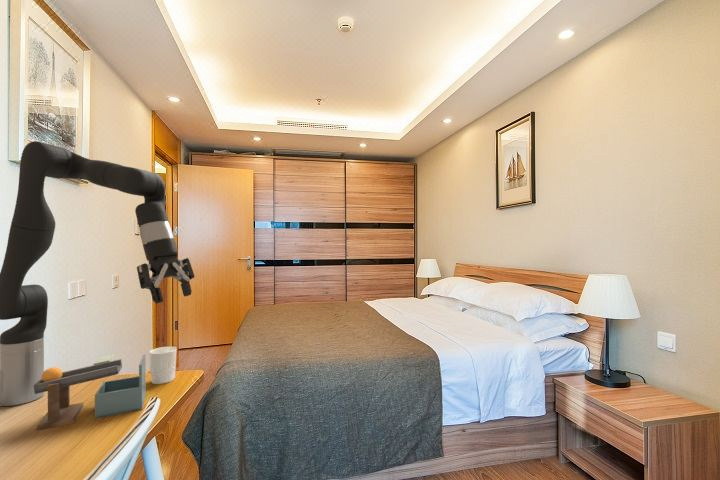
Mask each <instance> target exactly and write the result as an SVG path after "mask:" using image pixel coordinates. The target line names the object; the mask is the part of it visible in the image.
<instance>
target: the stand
mask: <svg viewBox="0 0 720 480" xmlns="http://www.w3.org/2000/svg"><path fill="white" fill-rule="evenodd" d="M70 387H71V386H67V387H63V388H60V383H54V384H49V385H48V391H47V412H46V414H44V416H42V418H41V419H40V421H38V423H37V424H36V431H40V430H44V429H45V430H46V429H51V428H56V427H60V426H65V425H70V424H74V422H76V420H77V418H78V417H79V415H80V413H81V412H82V410H83V409H84V407H85V402H78V403H72V404H71V403H70V400H71V399H70V397H71V395H70V390H71V389H70Z"/></svg>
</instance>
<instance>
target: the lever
mask: <svg viewBox="0 0 720 480" xmlns="http://www.w3.org/2000/svg"><path fill="white" fill-rule="evenodd" d="M114 358H115V353H110V354H106V355H101V356H98V358H97V359H96V360H95V361H94V363H93V365H89V366H83V367H80V368H75V369H71V370H66V371H62V377H61V378H60V379H56V380H51V381H47V382H43V381H42V378H41V379H40V380H39V381H38V382H37V383H36V384H35V385H33V386H34V393H35V394H38V393H42V392H44V393H45V392H48V385H49V384H54V383H60V388H63V387H67V386H70V387H71V386H75V385H78V384H79V385H80V384H82V383H87V382H91V381H95V380H100V379H103V378H107V377H113V376H117V375H119V373H120V372H121V370H122V368H123V363H122V359H121V358H119V359H115V360H114Z"/></svg>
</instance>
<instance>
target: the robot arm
mask: <svg viewBox="0 0 720 480" xmlns="http://www.w3.org/2000/svg"><path fill="white" fill-rule="evenodd" d="M20 157H21V158H20V162H19V172H18V173H19V174H18V175H19V177H18V187H17V196H16V201H15V205H14V211H13V216H12V219H11V222H10V223H11V224H10V229H9V231H8V232H9V233H8V237H7V238H8V239H7V245H6V250H5V253H4V258H3V263H2V266H1V268H0V320H1V321H7V320H15V319H19V318H20V319H19V321H18V322H17V323H16V324H15V325H14V326H11V328H8V329H7V330H5V331H2V332H1V334H0V407H10V406H13V407H14V406H18V405H22V404H27V403H30V402H33V401H36V400H38V399H40V398H42V397H43V396H44V394H45V392H42V393H38V394H35V393H34V386H33V385H35V384H36V383H37V382H38V381H39V380H40V379H41V377H42V374H43V372H44V371H45V356H44V355H45V348H44V347H45V340H44V339H45V331H46V328H47V321H48V319H47V318H48V308H49V305H48V304H49V300H48V294H47V290H46V289H45V288H44V286H42V285H39V284H25V285H23V283H24V280H25V278H26V276H27V274H28V272H29V271H30V269H31V268H32V267H33V266H34V265H35V264H36V263H37V262H38V261H39V260H40V259H41V258H42V257H43V256H44V255H45V254H46V253H47V252H48V250H49V249H50V247H51V246H52V243H53V241H54V236H55V235H54V234H55V229H56V220H55V216H54V215H53V212H52V210H51V208H50V207H49V204H48V203H47V201H46V196H45V191H44V189H45V188H44V187H45V181H46V178H47V177H48V178H53V179H67V180H68V179H73V180H83V181H84V180H85V181H87V182H89V183H91V184H94V185H97V186H100V187H103V188H107V189H111V190H117V191H119V192H122V193H124V194H128V195H134V196H138V197H143V198H144V202H143V203H140V204H138V205H137V206H136V207H135V209H134V211H135V215H136V216H135V217H136V220H137V223H138V224H137V225H138V229H139V236H140V240H141V244H142V248H143V251H144V252H143V253H144V255H145V259H146V261H148V263H142V264H140V265H138V266H137V267H136V270H137V276H138V281H139V286H140V289H142V290H143V289H147V290H149V292H150V295H151V298H152V301H153V302H154V304H156V305H157V304H158V305H159V304H161V303H163V302H164V297H163V294H162V290H161V287H159V286H160V284H161V281H162V280H164V279H165V278H174V279H176V280H177V281H178V282H179V283H180V287H181V292H182V295H183V296H184V297H188V296H191V295H192V291H193V290H192V287H191V284H190V281H191V280H192V279H195V274H194V271H193V267H192V264H191V260H190V259H189V258H188V257H186V258H183V259H180V258H178V254H179V252H178V249H177V244H176V241H175V236H174V232H173V230H172V227H171V224H170V222H169V219H168V214H167V211H166V184H165V182H164V180H163V178H162V177H161V175H159V174H158V173H156V172H152V171H148V170H145V169H140V168H137V167H132V166H125V165H122V164H118V163H113V162H110V161H105V160H97V159H90V158H87V157H84V156H82V155H79V154H77V153H75V152H73V151H71V150H69V149H67V148H65V147H61V146H58V145H54V144H50V143H46V142H41V141H36V140H35V141H31V142H29V143H27V144H26V145H25V146H24V148H23V150H22V153H21V156H20ZM150 272H151V273H152V274H151V275H150Z"/></svg>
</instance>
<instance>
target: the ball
mask: <svg viewBox="0 0 720 480" xmlns="http://www.w3.org/2000/svg"><path fill="white" fill-rule="evenodd" d="M62 372H63V371H62V368H59V367H55V366H52V367H49V368H47V369H46V370H45V369H44V372H43V374H42V377H41V378H42V381H43V382H47V381H51V380H56V379H60V378H61V377H62Z"/></svg>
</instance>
